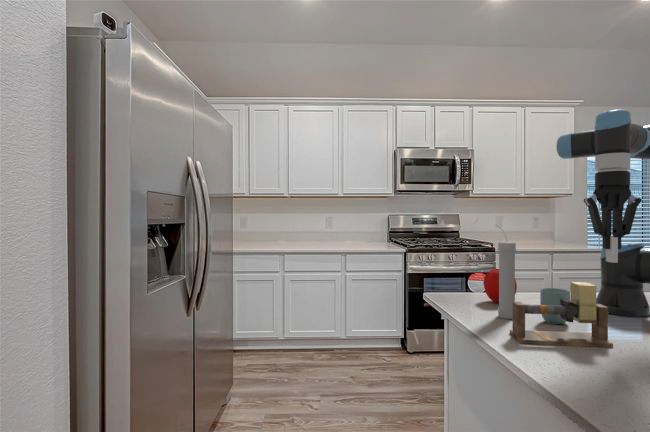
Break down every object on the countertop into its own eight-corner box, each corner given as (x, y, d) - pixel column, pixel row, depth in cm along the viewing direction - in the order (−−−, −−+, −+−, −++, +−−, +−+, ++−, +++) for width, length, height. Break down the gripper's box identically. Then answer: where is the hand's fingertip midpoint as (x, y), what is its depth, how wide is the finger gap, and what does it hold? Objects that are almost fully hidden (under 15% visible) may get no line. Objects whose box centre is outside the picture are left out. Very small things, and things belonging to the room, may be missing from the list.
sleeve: (586, 318, 109) (586, 282, 109) (596, 323, 104) (596, 285, 104) (570, 317, 110) (570, 282, 110) (579, 322, 105) (579, 285, 105)
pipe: (518, 319, 128) (518, 224, 128) (497, 318, 130) (497, 224, 129) (513, 315, 134) (513, 224, 134) (493, 314, 135) (493, 224, 135)
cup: (559, 327, 120) (559, 293, 119) (535, 321, 126) (535, 289, 126) (575, 324, 123) (575, 291, 123) (550, 318, 130) (550, 287, 130)
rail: (595, 336, 111) (595, 301, 111) (613, 347, 102) (613, 309, 102) (509, 333, 114) (509, 299, 114) (520, 343, 105) (520, 307, 105)
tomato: (519, 301, 155) (519, 266, 155) (514, 307, 145) (514, 270, 144) (486, 297, 161) (486, 264, 161) (480, 303, 151) (480, 268, 151)
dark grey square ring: (565, 317, 110) (565, 298, 110) (573, 322, 105) (573, 303, 105) (560, 317, 110) (560, 298, 110) (568, 322, 105) (568, 302, 105)
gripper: (631, 172, 108) (630, 260, 108) (578, 173, 110) (577, 259, 110) (649, 169, 101) (648, 264, 101) (592, 170, 103) (591, 263, 103)
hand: (611, 261), depth 106 cm, fingers closed
